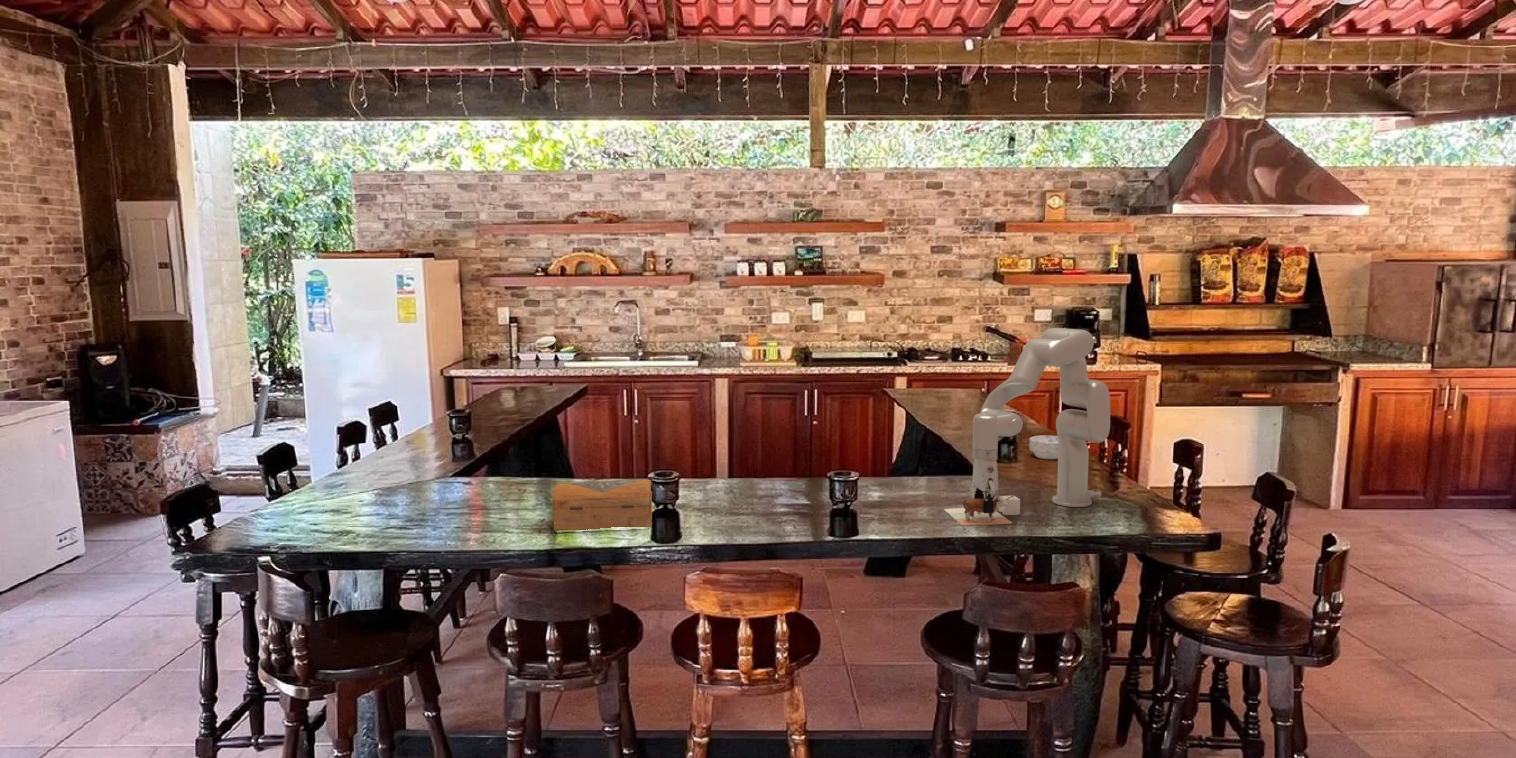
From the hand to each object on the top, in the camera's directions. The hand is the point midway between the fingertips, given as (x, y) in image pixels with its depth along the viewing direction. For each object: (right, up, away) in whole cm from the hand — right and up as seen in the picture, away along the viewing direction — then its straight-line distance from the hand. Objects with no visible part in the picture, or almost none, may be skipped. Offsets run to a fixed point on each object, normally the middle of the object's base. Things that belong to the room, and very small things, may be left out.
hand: (983, 509), depth 273 cm
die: (+11, -3, +11) cm, 16 cm away
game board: (-1, -3, +7) cm, 7 cm away
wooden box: (-119, -6, +4) cm, 119 cm away
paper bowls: (+50, +8, +90) cm, 103 cm away
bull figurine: (0, -4, +1) cm, 4 cm away
